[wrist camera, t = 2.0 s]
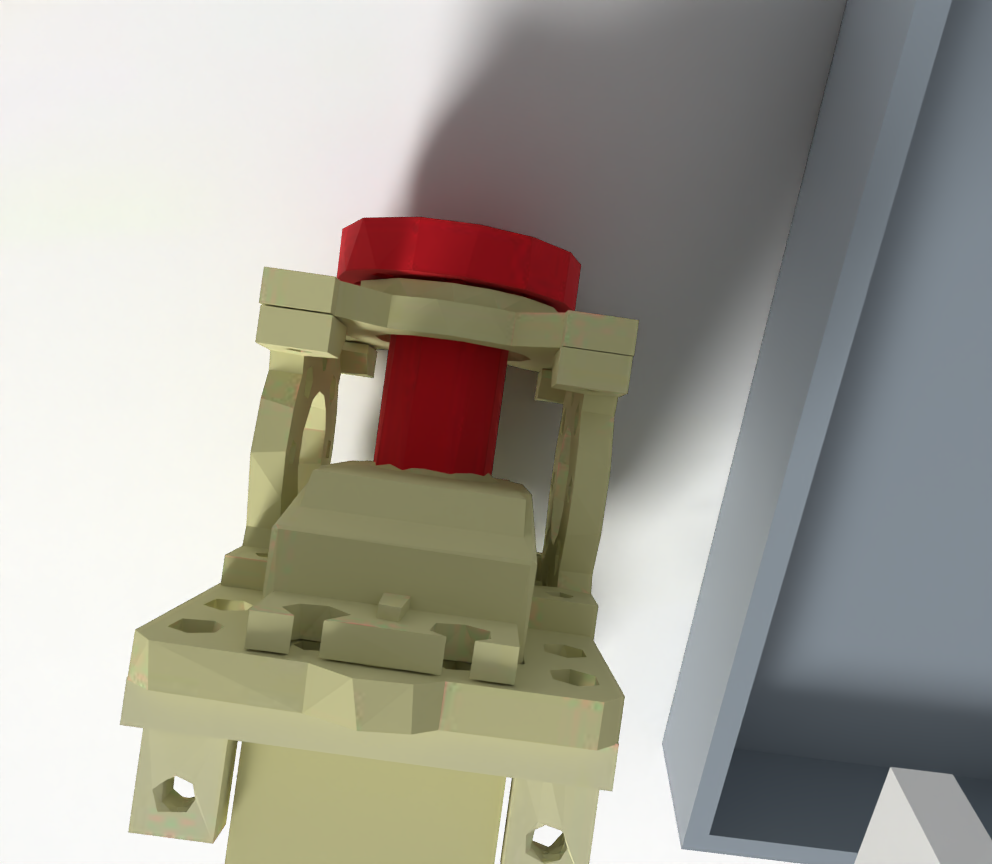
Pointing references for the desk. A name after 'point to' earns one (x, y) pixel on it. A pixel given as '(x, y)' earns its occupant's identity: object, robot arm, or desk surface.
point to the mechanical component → (400, 577)
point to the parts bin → (858, 470)
